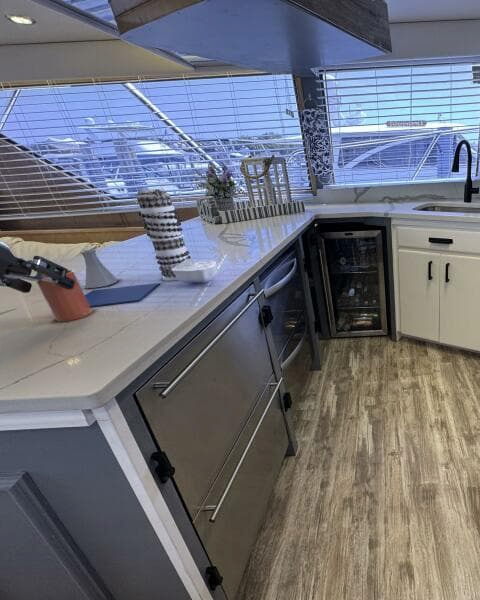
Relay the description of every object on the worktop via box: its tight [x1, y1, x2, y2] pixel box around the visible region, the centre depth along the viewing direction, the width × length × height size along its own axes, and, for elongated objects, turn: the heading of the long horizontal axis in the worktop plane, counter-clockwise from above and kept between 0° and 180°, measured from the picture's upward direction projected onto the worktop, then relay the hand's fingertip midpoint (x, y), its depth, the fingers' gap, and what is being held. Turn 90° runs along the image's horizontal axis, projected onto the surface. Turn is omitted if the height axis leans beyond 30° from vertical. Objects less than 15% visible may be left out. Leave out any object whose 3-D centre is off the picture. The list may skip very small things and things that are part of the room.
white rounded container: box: [171, 258, 218, 284], centre depth 90 cm, size 10×12×7 cm
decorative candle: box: [135, 188, 192, 282], centre depth 93 cm, size 9×9×25 cm
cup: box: [35, 269, 93, 323], centre depth 71 cm, size 6×6×10 cm
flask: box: [79, 249, 118, 289], centre depth 91 cm, size 7×7×10 cm
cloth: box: [85, 282, 160, 308], centre depth 84 cm, size 16×13×1 cm
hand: (50, 287), depth 68 cm, fingers open, 8 cm apart
